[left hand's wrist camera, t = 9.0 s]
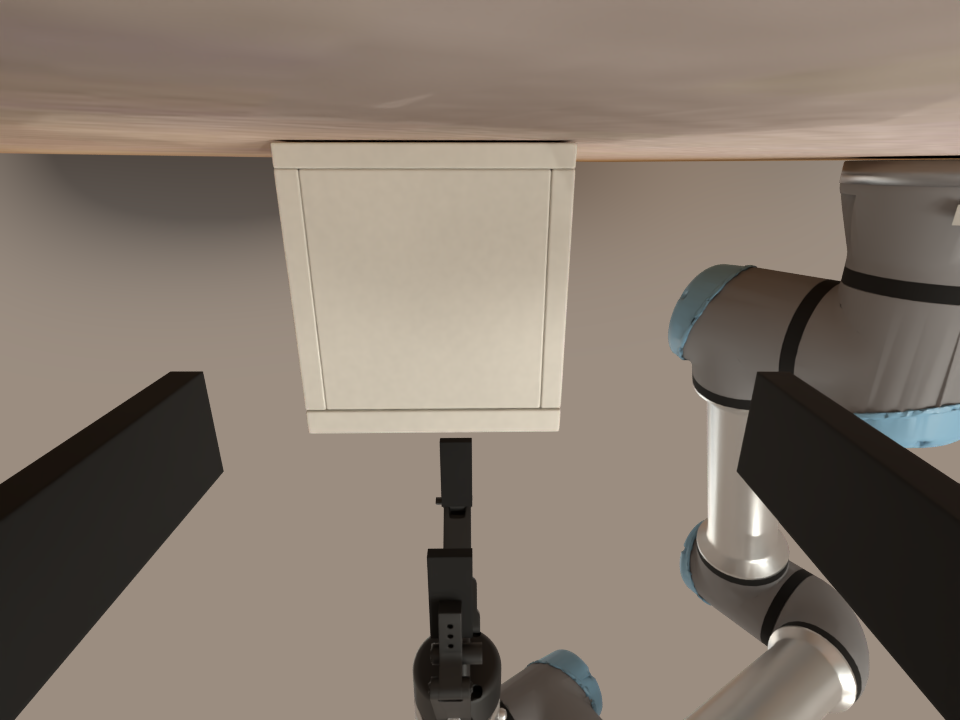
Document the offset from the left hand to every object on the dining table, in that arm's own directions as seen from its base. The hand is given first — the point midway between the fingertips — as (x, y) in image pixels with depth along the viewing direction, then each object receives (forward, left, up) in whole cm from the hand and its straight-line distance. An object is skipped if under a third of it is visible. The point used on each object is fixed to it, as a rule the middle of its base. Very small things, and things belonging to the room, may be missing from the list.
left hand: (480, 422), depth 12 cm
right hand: (+16, -13, +16) cm, 26 cm away
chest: (+10, -9, -6) cm, 15 cm away
